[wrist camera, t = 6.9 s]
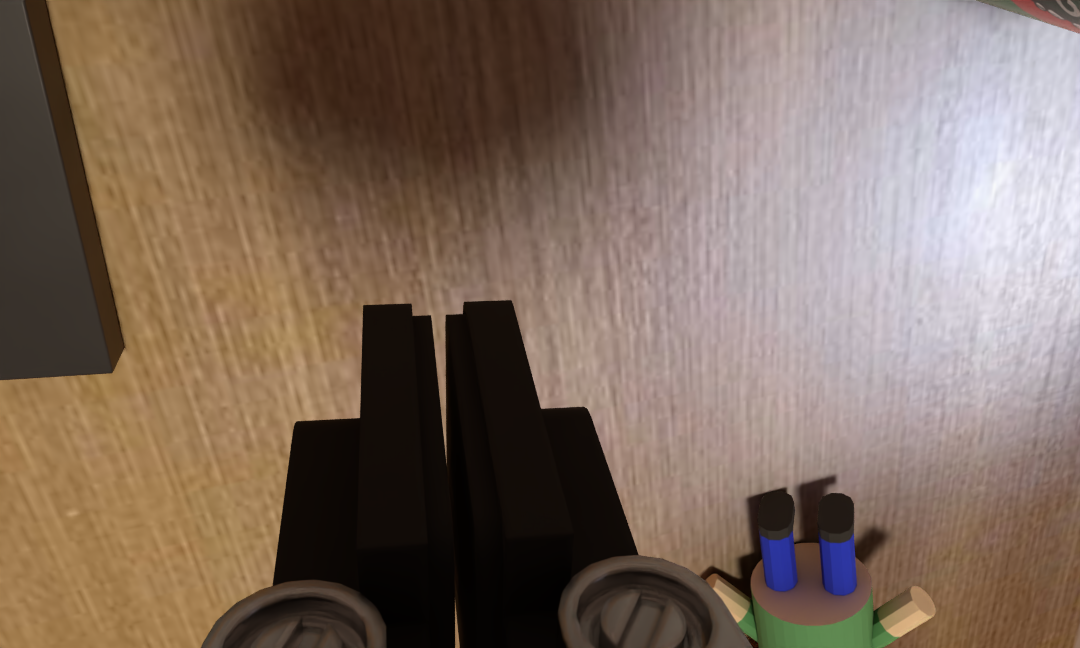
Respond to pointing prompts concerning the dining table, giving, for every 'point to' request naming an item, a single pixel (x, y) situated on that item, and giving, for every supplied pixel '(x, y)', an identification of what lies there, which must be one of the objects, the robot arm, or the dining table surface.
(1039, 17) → the soda can
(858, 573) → the toy figurine
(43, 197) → the scale
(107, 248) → the dining table surface
